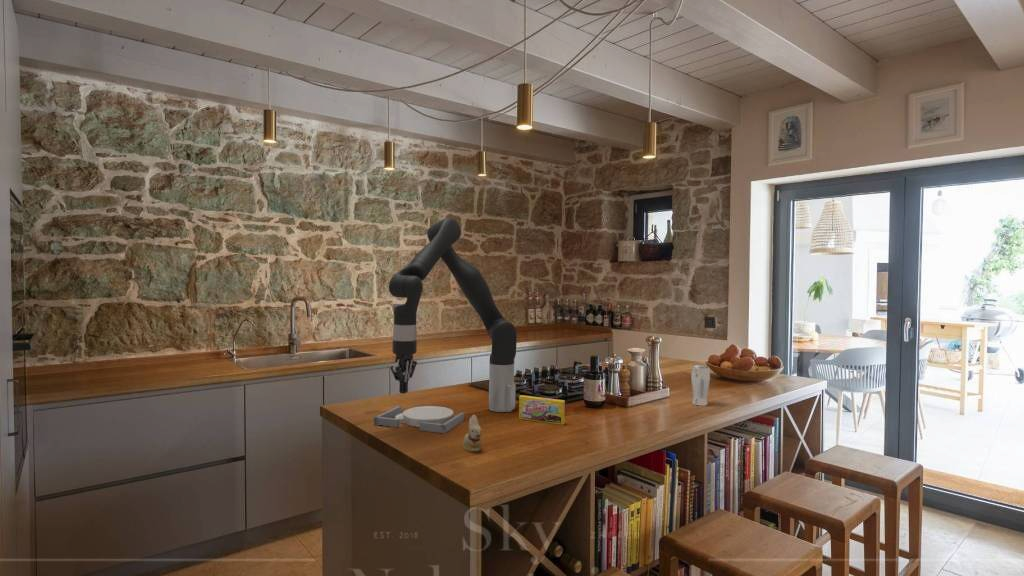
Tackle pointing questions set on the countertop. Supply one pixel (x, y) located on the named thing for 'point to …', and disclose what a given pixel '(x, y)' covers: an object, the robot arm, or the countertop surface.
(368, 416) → the countertop surface
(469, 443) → the chocolate bunny
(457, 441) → the countertop surface
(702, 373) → the beer glass
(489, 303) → the robot arm
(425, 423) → the lid holder
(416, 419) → the lid
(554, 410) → the candy box
